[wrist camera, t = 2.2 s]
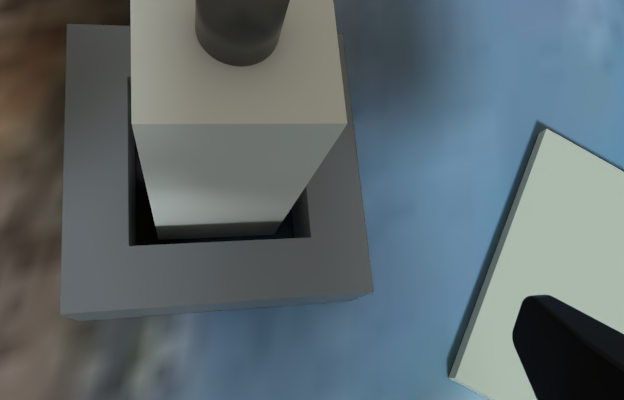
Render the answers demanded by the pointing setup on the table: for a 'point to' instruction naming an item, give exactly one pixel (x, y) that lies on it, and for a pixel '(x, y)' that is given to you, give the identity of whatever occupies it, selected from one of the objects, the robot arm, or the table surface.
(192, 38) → the plug
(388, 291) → the table surface
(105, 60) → the socket collar
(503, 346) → the rubber mat
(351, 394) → the table surface
